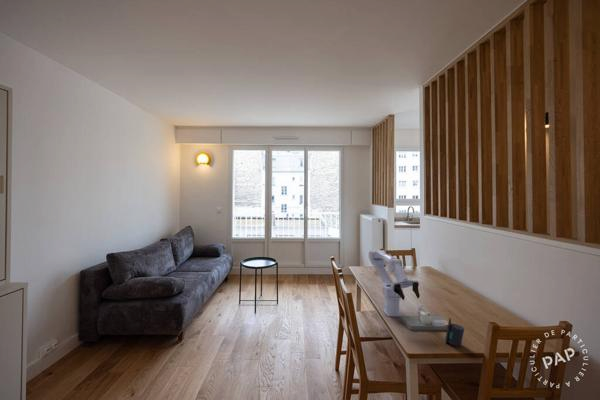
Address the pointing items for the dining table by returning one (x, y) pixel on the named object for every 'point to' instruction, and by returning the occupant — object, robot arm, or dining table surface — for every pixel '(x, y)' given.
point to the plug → (425, 318)
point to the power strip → (415, 324)
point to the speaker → (454, 334)
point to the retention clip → (422, 310)
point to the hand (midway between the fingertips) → (411, 297)
